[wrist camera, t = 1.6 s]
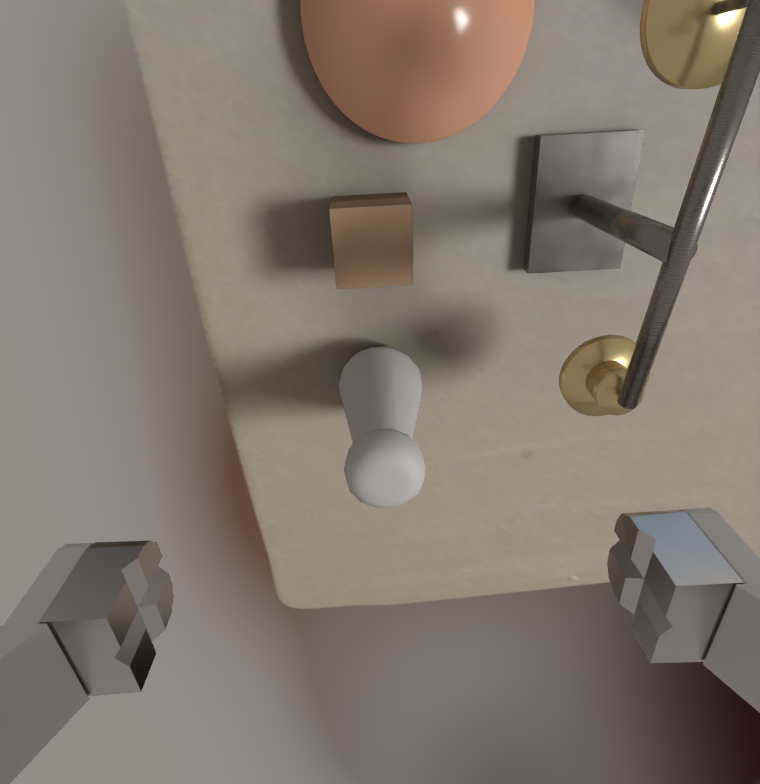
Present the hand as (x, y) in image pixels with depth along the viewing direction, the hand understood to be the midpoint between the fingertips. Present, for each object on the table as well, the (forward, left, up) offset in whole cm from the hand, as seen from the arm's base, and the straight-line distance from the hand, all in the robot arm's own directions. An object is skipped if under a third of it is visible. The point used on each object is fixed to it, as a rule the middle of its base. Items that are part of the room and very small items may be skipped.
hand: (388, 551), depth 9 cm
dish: (-11, +3, -27) cm, 29 cm away
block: (0, 0, -27) cm, 27 cm away
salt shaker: (+10, 0, -27) cm, 29 cm away
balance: (-1, +13, -27) cm, 30 cm away
